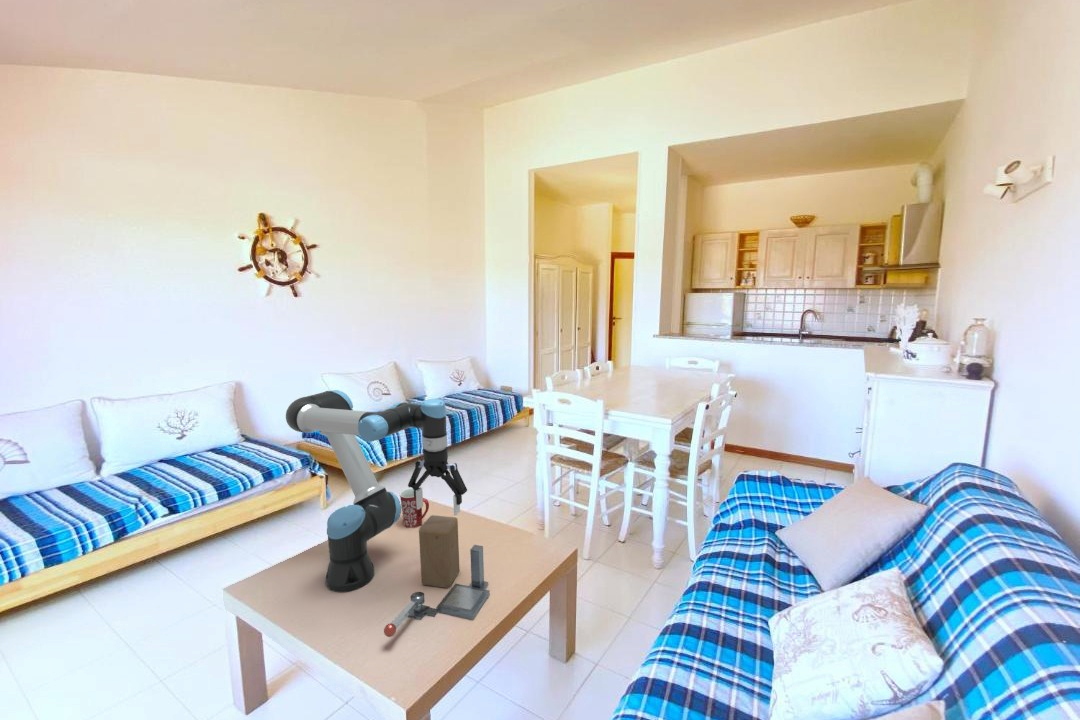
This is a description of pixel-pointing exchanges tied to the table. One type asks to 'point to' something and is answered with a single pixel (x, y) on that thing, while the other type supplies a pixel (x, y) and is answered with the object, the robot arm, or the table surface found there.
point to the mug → (411, 509)
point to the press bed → (462, 593)
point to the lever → (404, 613)
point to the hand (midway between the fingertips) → (438, 510)
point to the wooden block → (439, 551)
